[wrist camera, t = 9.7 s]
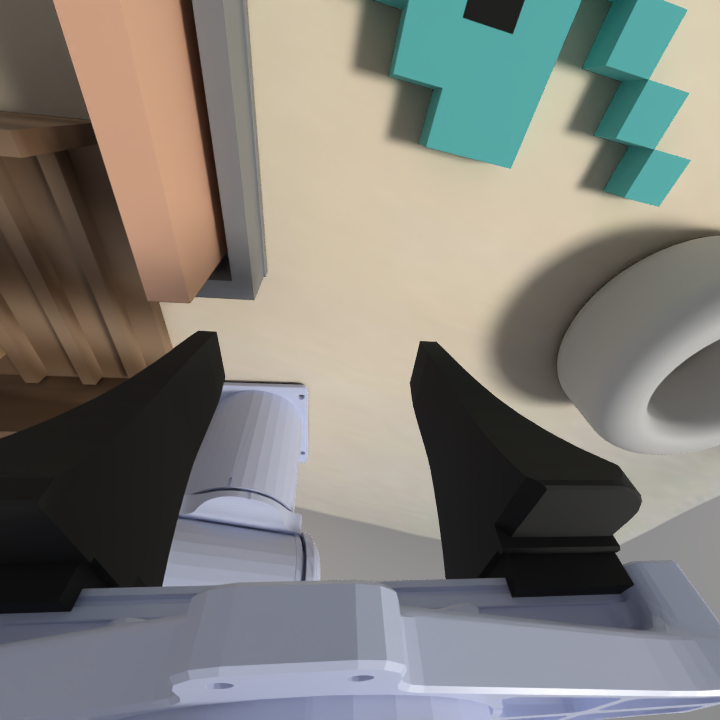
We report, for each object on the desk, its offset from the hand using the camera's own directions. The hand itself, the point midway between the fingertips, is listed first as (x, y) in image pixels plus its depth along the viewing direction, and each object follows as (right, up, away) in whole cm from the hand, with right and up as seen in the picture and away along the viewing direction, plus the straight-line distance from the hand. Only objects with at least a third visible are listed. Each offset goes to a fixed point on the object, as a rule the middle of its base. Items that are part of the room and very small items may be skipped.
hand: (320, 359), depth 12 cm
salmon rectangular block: (-6, +10, +4) cm, 13 cm away
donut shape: (+24, +2, +14) cm, 27 cm away
